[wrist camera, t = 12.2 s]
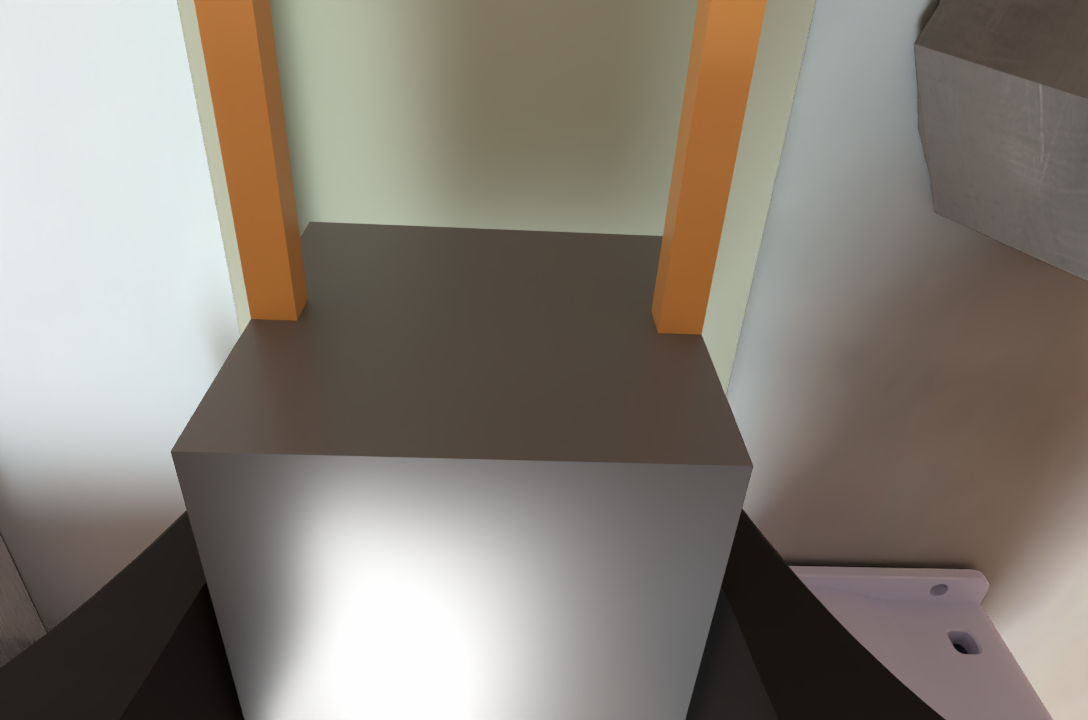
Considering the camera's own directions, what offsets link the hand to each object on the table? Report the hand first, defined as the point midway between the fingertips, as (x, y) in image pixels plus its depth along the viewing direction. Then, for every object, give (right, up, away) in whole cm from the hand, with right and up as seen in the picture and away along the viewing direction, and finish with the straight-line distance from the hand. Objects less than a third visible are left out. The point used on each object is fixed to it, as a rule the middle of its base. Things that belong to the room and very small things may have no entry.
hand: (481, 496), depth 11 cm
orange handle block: (0, +3, 0) cm, 3 cm away
